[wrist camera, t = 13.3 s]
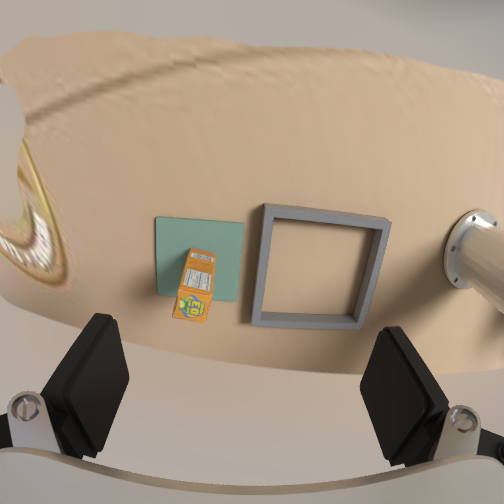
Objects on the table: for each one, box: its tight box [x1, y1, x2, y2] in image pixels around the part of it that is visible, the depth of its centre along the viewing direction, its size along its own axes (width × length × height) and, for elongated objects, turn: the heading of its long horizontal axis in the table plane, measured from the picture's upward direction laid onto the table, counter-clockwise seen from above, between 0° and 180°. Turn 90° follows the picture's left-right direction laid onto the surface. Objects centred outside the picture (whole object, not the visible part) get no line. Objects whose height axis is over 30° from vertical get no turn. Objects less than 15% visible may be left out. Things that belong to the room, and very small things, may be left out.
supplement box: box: [172, 248, 216, 323], centre depth 31 cm, size 3×3×10 cm
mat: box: [156, 216, 244, 302], centre depth 35 cm, size 10×10×1 cm
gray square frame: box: [251, 203, 392, 329], centre depth 36 cm, size 15×15×2 cm
